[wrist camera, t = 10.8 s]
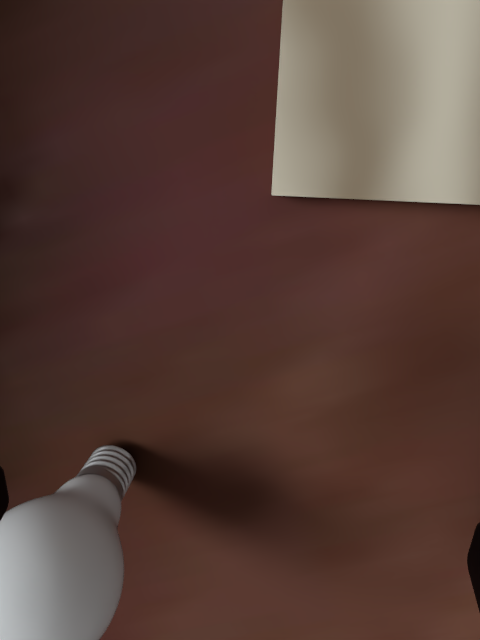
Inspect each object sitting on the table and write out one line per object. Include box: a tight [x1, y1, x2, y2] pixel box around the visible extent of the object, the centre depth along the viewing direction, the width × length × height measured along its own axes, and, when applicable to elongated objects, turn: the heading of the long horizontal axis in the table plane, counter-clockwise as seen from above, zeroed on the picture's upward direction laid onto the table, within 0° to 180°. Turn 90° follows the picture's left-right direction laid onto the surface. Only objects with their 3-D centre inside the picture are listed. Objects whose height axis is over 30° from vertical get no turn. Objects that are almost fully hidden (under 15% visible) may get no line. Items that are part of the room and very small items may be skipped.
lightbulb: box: [0, 445, 136, 640], centre depth 19 cm, size 6×6×11 cm
